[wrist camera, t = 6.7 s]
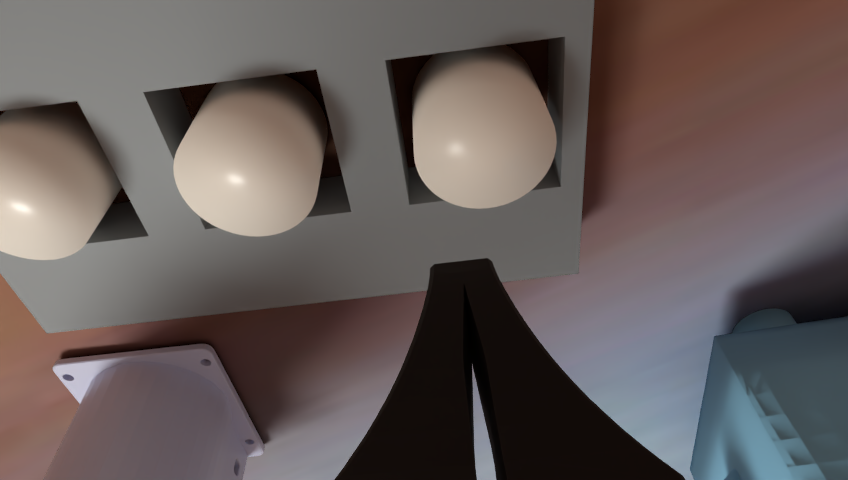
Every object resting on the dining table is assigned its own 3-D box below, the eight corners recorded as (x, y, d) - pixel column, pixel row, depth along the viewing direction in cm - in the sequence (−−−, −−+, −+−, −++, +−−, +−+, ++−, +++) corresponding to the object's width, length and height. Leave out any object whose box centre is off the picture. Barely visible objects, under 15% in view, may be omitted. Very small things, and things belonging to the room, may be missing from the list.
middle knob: (338, 171, 23) (331, 228, 20) (226, 185, 23) (203, 243, 20) (311, 61, 20) (297, 109, 17) (183, 78, 20) (149, 128, 17)
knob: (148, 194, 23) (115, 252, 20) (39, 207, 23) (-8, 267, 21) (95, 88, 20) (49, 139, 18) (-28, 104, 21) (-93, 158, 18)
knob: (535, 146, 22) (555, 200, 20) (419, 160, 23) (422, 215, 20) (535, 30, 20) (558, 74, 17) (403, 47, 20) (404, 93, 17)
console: (564, 234, 26) (578, 273, 24) (72, 291, 27) (46, 333, 25) (578, -149, 17) (602, -137, 15) (-157, -42, 18) (-224, -17, 16)
